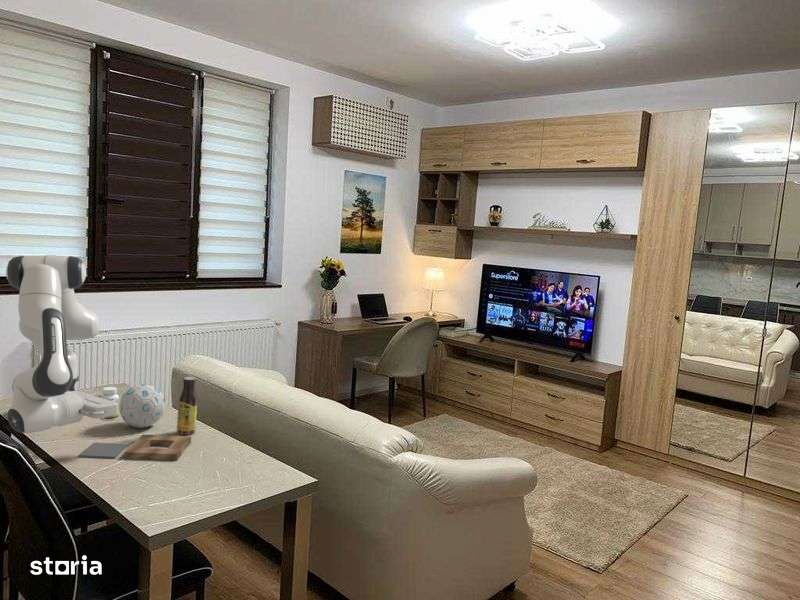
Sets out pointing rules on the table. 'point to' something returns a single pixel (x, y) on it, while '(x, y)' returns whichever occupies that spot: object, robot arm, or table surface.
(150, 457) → the socket block
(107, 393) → the supplement bottle
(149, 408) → the puzzle ball
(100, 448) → the rubber mat
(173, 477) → the table surface
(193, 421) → the sauce bottle
